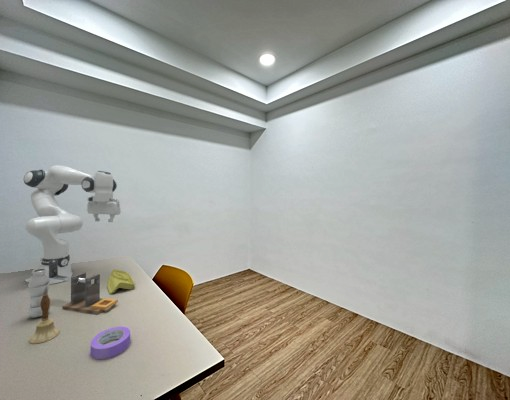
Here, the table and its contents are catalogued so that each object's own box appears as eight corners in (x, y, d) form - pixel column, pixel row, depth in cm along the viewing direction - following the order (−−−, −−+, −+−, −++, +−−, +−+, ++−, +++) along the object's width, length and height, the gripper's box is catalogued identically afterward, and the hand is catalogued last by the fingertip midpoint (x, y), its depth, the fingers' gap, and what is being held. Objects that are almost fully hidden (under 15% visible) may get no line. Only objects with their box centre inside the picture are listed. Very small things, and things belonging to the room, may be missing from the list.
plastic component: (136, 284, 121) (117, 281, 114) (129, 297, 119) (110, 295, 113) (128, 272, 135) (111, 268, 129) (121, 283, 134) (104, 280, 127)
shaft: (46, 279, 104) (47, 261, 103) (54, 277, 107) (54, 259, 107) (85, 284, 100) (86, 265, 99) (92, 281, 103) (92, 263, 102)
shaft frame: (62, 309, 98) (62, 278, 98) (83, 298, 108) (83, 270, 108) (97, 314, 95) (97, 282, 94) (115, 303, 105) (116, 274, 104)
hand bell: (65, 331, 83) (65, 291, 83) (40, 345, 75) (40, 301, 75) (49, 327, 85) (49, 288, 85) (22, 341, 77) (22, 298, 76)
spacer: (92, 305, 97) (106, 307, 96) (104, 298, 104) (117, 299, 103) (92, 308, 97) (106, 309, 96) (104, 300, 104) (117, 301, 103)
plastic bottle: (53, 313, 95) (53, 268, 94) (33, 321, 89) (33, 274, 88) (44, 310, 97) (44, 266, 96) (24, 318, 91) (24, 271, 90)
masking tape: (85, 363, 68) (85, 352, 68) (96, 340, 79) (96, 330, 79) (127, 354, 73) (127, 343, 73) (132, 333, 84) (132, 323, 84)
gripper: (123, 199, 127) (123, 222, 128) (95, 198, 131) (94, 220, 132) (114, 199, 121) (114, 223, 122) (85, 198, 125) (84, 221, 126)
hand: (104, 221), depth 127 cm, fingers open, 8 cm apart
